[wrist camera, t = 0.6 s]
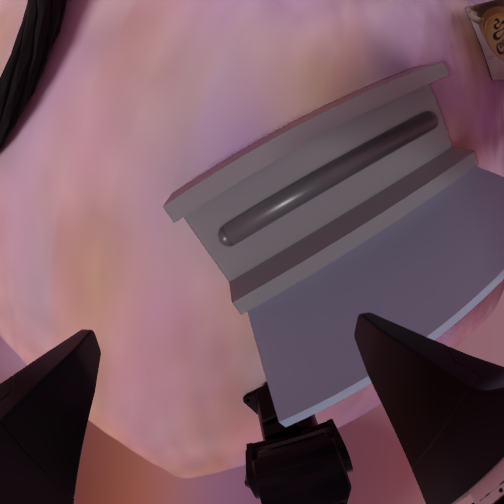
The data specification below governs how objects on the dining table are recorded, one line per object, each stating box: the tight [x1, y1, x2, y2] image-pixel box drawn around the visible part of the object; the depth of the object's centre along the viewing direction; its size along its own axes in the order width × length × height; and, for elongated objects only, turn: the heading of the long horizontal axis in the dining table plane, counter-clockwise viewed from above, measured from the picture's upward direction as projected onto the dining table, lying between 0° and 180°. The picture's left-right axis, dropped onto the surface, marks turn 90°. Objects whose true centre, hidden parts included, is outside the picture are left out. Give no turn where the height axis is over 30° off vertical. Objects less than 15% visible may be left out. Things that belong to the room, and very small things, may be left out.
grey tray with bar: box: [163, 61, 478, 315], centre depth 19 cm, size 9×23×4 cm, turn 120°
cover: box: [248, 166, 504, 427], centre depth 15 cm, size 9×22×1 cm
